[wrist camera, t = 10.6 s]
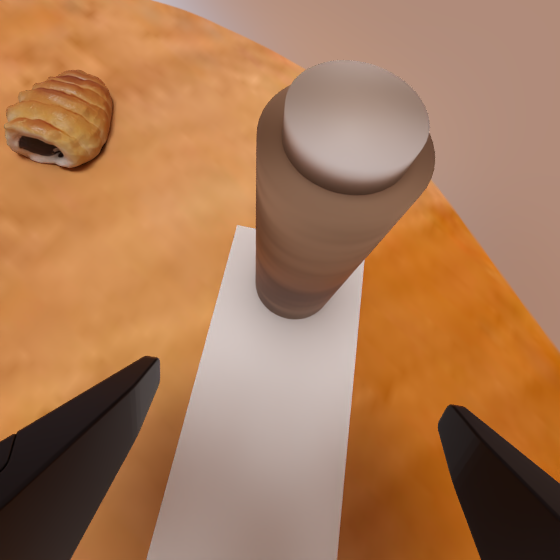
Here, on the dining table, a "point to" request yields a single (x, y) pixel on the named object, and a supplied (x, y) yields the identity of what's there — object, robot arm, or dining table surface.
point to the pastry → (61, 119)
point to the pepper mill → (333, 178)
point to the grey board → (263, 428)
